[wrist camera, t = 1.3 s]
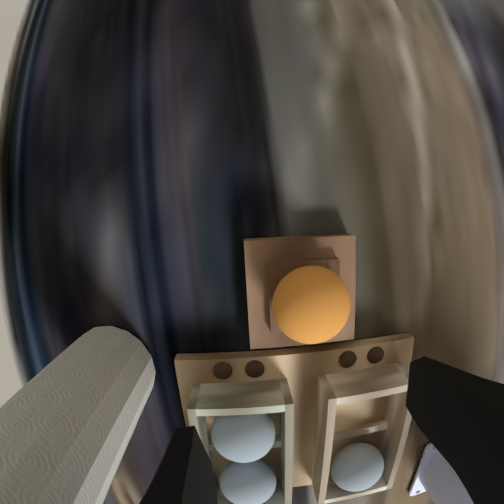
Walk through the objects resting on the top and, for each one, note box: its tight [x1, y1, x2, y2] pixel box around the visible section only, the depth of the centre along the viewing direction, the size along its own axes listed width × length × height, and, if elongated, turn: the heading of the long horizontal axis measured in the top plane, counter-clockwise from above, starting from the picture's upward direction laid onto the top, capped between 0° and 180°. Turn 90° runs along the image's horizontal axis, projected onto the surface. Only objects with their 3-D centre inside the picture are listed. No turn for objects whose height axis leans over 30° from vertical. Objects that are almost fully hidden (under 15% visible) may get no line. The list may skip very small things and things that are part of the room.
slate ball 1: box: [211, 413, 275, 463], centre depth 18 cm, size 4×4×4 cm
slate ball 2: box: [220, 459, 276, 504], centre depth 18 cm, size 4×4×4 cm
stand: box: [244, 233, 356, 349], centre depth 19 cm, size 6×6×2 cm
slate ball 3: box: [331, 443, 384, 492], centre depth 19 cm, size 4×4×4 cm
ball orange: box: [272, 266, 351, 344], centre depth 16 cm, size 4×4×4 cm
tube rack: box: [174, 332, 414, 504], centre depth 19 cm, size 16×13×4 cm
